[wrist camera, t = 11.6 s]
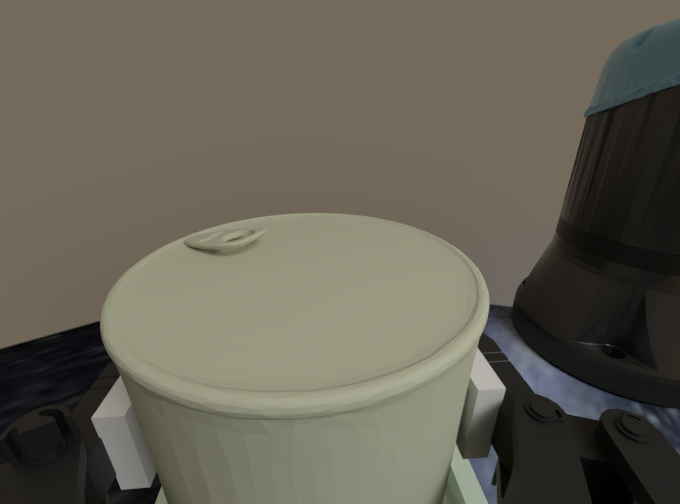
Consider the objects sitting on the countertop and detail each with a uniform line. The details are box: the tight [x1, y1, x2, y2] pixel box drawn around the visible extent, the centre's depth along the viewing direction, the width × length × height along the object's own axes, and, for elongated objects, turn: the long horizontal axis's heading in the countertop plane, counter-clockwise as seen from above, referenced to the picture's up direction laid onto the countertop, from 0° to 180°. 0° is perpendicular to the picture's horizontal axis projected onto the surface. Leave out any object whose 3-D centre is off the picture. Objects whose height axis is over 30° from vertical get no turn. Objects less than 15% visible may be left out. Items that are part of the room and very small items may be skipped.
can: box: [100, 213, 490, 504], centre depth 11 cm, size 9×9×12 cm
